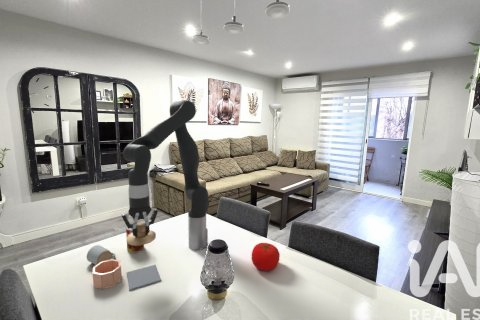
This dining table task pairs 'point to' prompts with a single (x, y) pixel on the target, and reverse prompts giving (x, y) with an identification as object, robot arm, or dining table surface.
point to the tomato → (265, 256)
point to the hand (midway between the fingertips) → (141, 234)
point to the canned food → (131, 247)
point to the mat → (143, 277)
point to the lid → (141, 236)
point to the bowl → (107, 273)
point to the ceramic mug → (99, 254)
